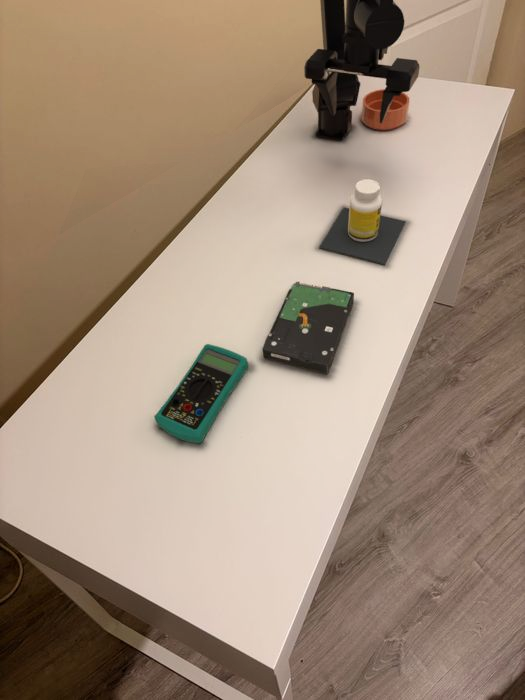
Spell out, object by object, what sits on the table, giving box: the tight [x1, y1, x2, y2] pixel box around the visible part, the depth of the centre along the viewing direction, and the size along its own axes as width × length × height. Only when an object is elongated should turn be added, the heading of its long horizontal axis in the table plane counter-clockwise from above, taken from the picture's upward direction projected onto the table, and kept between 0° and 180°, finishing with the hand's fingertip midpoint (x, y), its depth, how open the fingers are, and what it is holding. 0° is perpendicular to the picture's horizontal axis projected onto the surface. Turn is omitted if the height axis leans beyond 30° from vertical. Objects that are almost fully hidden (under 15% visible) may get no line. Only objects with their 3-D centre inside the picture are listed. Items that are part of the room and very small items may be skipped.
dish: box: [361, 88, 410, 131], centre depth 110 cm, size 10×10×4 cm
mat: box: [318, 206, 406, 266], centre depth 89 cm, size 12×12×1 cm
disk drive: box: [261, 281, 355, 375], centre depth 76 cm, size 10×3×15 cm
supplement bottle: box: [348, 178, 383, 242], centre depth 85 cm, size 5×5×10 cm
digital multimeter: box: [154, 343, 249, 444], centre depth 71 cm, size 7×15×3 cm, turn 153°
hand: (357, 118), depth 91 cm, fingers open, 9 cm apart
